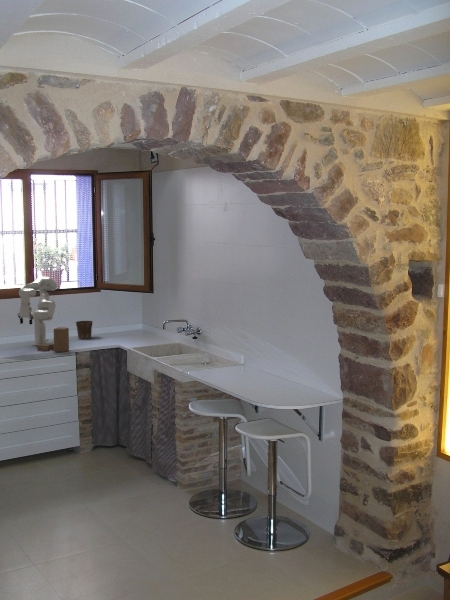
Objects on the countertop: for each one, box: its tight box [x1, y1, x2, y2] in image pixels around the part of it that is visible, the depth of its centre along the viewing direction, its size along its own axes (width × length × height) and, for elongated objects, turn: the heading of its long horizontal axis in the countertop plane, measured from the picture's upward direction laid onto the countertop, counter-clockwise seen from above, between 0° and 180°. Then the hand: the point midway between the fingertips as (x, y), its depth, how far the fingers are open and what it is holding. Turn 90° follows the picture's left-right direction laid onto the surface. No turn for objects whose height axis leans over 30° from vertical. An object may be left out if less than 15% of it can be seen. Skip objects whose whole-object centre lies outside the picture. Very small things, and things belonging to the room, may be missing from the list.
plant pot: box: [75, 320, 93, 340], centre depth 641 cm, size 16×16×16 cm
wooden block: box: [53, 326, 70, 353], centre depth 577 cm, size 10×10×20 cm
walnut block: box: [37, 342, 54, 352], centre depth 584 cm, size 10×10×5 cm
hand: (26, 323), depth 579 cm, fingers open, 9 cm apart
